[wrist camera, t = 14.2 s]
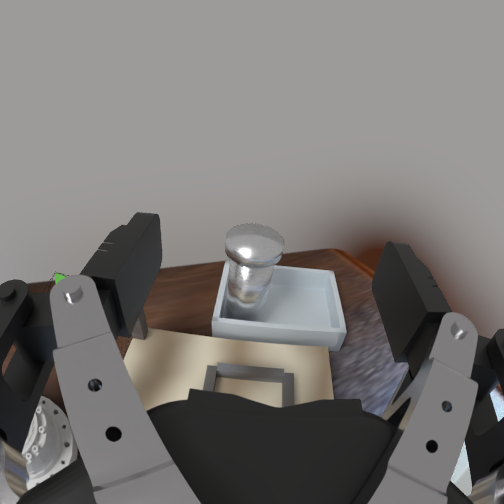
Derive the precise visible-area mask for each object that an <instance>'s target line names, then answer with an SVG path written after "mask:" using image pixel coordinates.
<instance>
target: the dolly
mask: <svg viewBox="0 0 504 504" xmlns="http://www.w3.org/2000/svg"><path fill="white" fill-rule="evenodd" d="M132 337H133V339H132V341H131V343H130V346H129V348H128V351H127V353H126V355H125V358H124V360H123V361H124V364H125V366H126V369H127V371H128V373H129V375H130V378H131V380H132V382H133V384H134V387H135V389H136V391H137V393H138V395H139V397H140V400H141V402H142V404H143V406H144V408H145V410H146V411H147V410H149V409H151V408H153V407H156V406H158V405H161V404H164V403H168V402H172V401H178V400H187V399H188V394H189V389H190V388H192V389H199V390H206V391H213V392H221V393H229V394H235V395H238V396H241V397H244V398H247V399H250V400H253V401H256V402H260V403H263V404H266V405H270V406H273V407H287V406H292V405H297V404H302V403H307V402H312V401H316V400H321V399H334V396H333V386H332V378H331V369H330V361H329V353H328V347H320V346H302V345H287V344H274V343H263V342H252V341H242V340H233V339H224V338H216V337H208V336H200V335H193V334H186V333H179V332H172V331H166V330H160V329H153V328H148V327H147V323H146V319H145V314H144V309H143V308H142V310H141V312H140V315H139V317H138V319H137V322H136V324H135V327H134V329H133V331H132Z"/></svg>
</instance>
